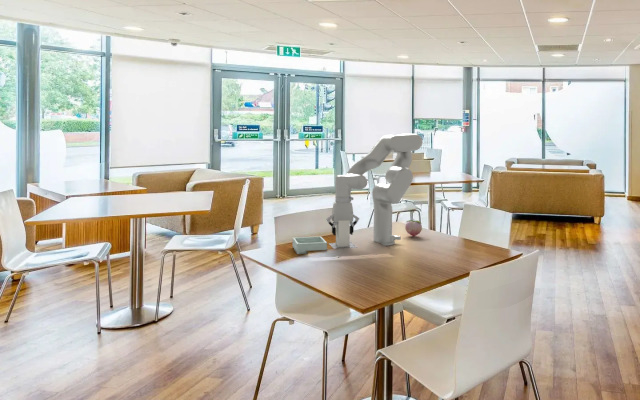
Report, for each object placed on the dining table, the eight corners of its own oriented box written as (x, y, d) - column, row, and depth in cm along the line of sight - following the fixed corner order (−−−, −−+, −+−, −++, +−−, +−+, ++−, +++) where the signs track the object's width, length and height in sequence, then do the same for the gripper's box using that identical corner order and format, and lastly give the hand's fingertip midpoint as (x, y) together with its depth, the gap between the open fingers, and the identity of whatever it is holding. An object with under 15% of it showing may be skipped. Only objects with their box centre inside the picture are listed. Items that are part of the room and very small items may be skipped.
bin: (320, 245, 257) (320, 236, 257) (327, 252, 243) (327, 242, 242) (292, 247, 254) (292, 237, 254) (297, 254, 240) (297, 243, 240)
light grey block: (346, 243, 255) (346, 218, 254) (349, 246, 250) (349, 220, 248) (335, 244, 254) (336, 219, 252) (338, 246, 249) (338, 220, 247)
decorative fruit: (423, 235, 283) (424, 218, 281) (420, 238, 275) (420, 220, 274) (407, 234, 287) (407, 216, 285) (403, 236, 279) (403, 219, 278)
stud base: (351, 245, 259) (351, 235, 259) (357, 250, 248) (357, 240, 247) (328, 246, 257) (328, 236, 256) (333, 251, 245) (333, 241, 244)
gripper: (357, 198, 254) (357, 232, 257) (324, 199, 251) (324, 233, 253) (362, 200, 247) (361, 235, 249) (327, 201, 243) (327, 236, 246)
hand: (342, 234), depth 251 cm, fingers open, 8 cm apart
